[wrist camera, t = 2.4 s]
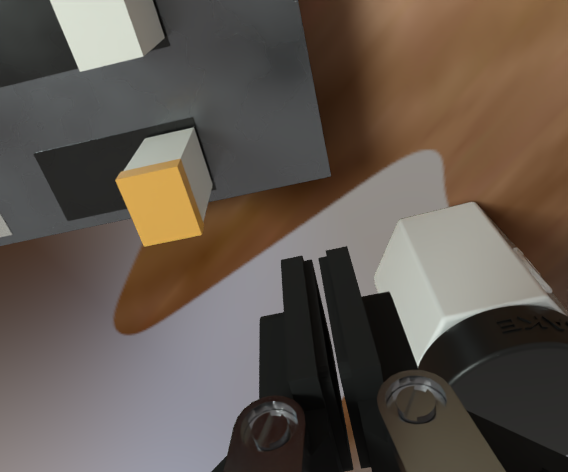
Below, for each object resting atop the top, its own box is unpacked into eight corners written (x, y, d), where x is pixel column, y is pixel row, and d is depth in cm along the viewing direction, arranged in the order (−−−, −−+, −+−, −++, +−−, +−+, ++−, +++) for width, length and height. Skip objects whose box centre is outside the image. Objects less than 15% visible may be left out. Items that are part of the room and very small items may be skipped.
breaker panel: (279, -87, 22) (280, -91, 19) (324, 150, 28) (331, 176, 25) (-125, 20, 24) (-183, 31, 21) (-5, 221, 30) (-37, 254, 27)
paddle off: (139, -42, 20) (110, -39, 16) (164, 37, 21) (143, 56, 18) (81, -27, 20) (41, -20, 16) (111, 50, 21) (79, 71, 18)
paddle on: (194, 126, 23) (177, 166, 19) (214, 185, 25) (201, 235, 20) (143, 137, 23) (115, 179, 19) (165, 195, 25) (144, 246, 21)
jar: (535, 263, 32) (660, 416, 22) (432, 332, 35) (500, 497, 24) (454, 172, 29) (556, 303, 18) (348, 258, 31) (384, 412, 21)
